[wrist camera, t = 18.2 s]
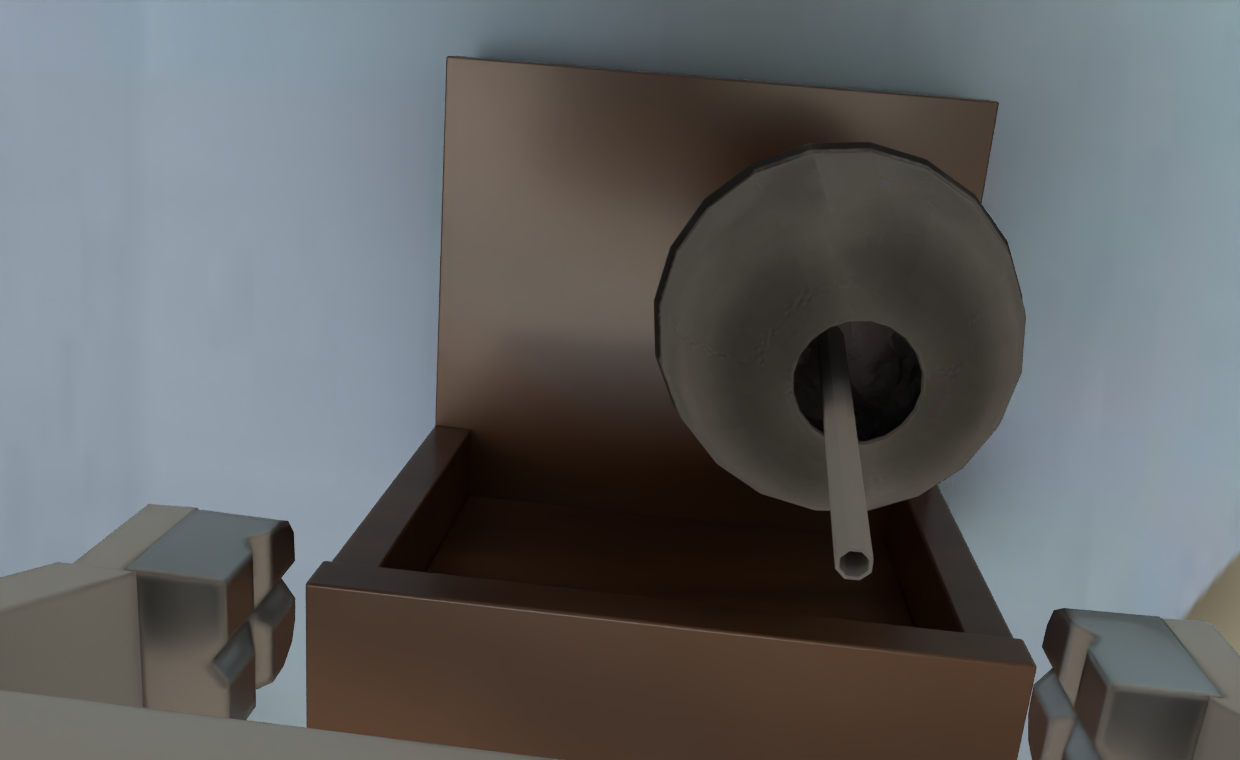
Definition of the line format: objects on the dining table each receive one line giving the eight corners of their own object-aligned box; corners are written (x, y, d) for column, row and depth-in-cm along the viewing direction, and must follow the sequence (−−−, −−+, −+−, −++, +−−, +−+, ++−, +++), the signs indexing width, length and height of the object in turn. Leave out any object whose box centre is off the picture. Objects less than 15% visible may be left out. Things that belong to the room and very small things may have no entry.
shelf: (468, 55, 35) (301, 58, 21) (976, 97, 34) (1152, 129, 20) (453, 490, 40) (305, 730, 26) (902, 538, 39) (1006, 816, 25)
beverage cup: (968, 178, 32) (1332, 363, 13) (846, 392, 34) (1005, 822, 15) (743, 66, 32) (775, 87, 13) (634, 290, 34) (521, 597, 15)
